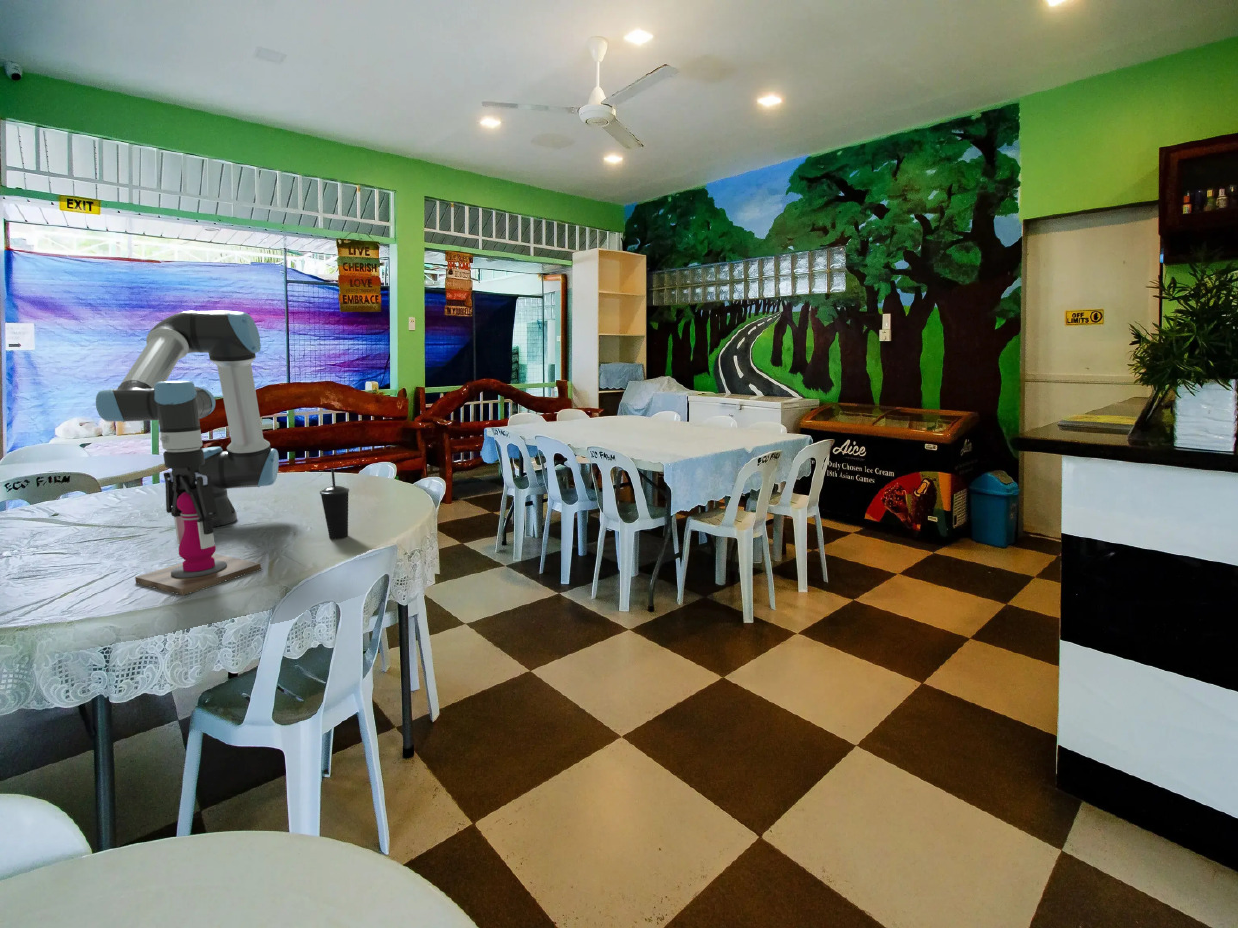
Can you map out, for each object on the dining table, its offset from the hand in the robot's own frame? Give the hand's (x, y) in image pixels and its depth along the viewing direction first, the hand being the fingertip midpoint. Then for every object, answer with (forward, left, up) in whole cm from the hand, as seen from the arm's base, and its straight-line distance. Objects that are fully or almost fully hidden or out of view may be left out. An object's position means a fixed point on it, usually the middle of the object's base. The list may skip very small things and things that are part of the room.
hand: (196, 544), depth 144 cm
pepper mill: (0, 0, -6) cm, 6 cm away
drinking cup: (+4, +36, -8) cm, 37 cm away
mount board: (0, 0, -8) cm, 8 cm away
